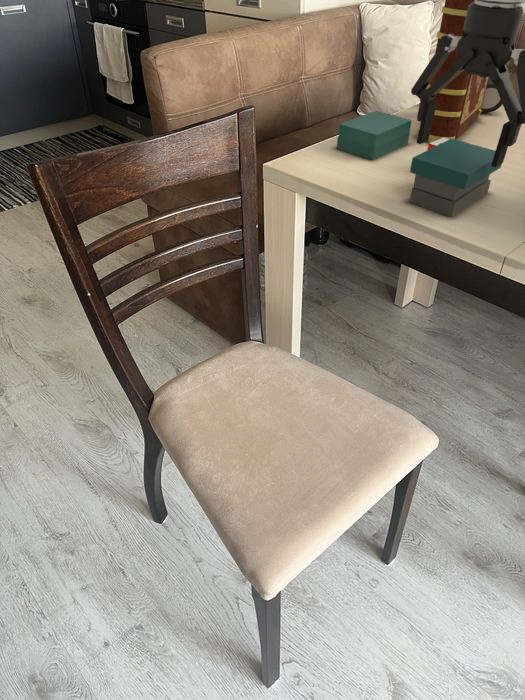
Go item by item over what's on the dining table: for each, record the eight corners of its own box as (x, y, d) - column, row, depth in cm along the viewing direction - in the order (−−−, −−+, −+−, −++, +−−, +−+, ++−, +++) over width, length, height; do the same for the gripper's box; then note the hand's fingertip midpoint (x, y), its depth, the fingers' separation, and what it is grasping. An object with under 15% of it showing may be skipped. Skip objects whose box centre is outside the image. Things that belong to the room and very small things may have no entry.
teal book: (500, 167, 94) (505, 153, 93) (464, 190, 87) (468, 174, 85) (448, 152, 99) (451, 138, 98) (409, 172, 92) (412, 157, 90)
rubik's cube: (422, 168, 106) (428, 143, 103) (438, 162, 109) (443, 137, 106) (444, 177, 103) (451, 150, 100) (460, 170, 106) (466, 144, 103)
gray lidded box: (487, 193, 98) (495, 166, 95) (451, 217, 91) (458, 188, 87) (446, 180, 102) (452, 153, 99) (408, 202, 95) (414, 173, 92)
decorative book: (450, 146, 116) (490, -25, 97) (414, 139, 119) (445, -29, 100) (479, 118, 131) (519, -36, 111) (446, 112, 134) (479, -38, 114)
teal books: (408, 144, 117) (412, 119, 113) (372, 160, 109) (376, 134, 106) (372, 133, 121) (375, 110, 118) (336, 148, 114) (338, 123, 111)
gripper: (406, -6, 82) (382, 138, 96) (577, 19, 69) (521, 181, 83) (432, -11, 86) (405, 128, 100) (597, 13, 73) (541, 168, 87)
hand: (458, 153), depth 91 cm, fingers open, 13 cm apart
